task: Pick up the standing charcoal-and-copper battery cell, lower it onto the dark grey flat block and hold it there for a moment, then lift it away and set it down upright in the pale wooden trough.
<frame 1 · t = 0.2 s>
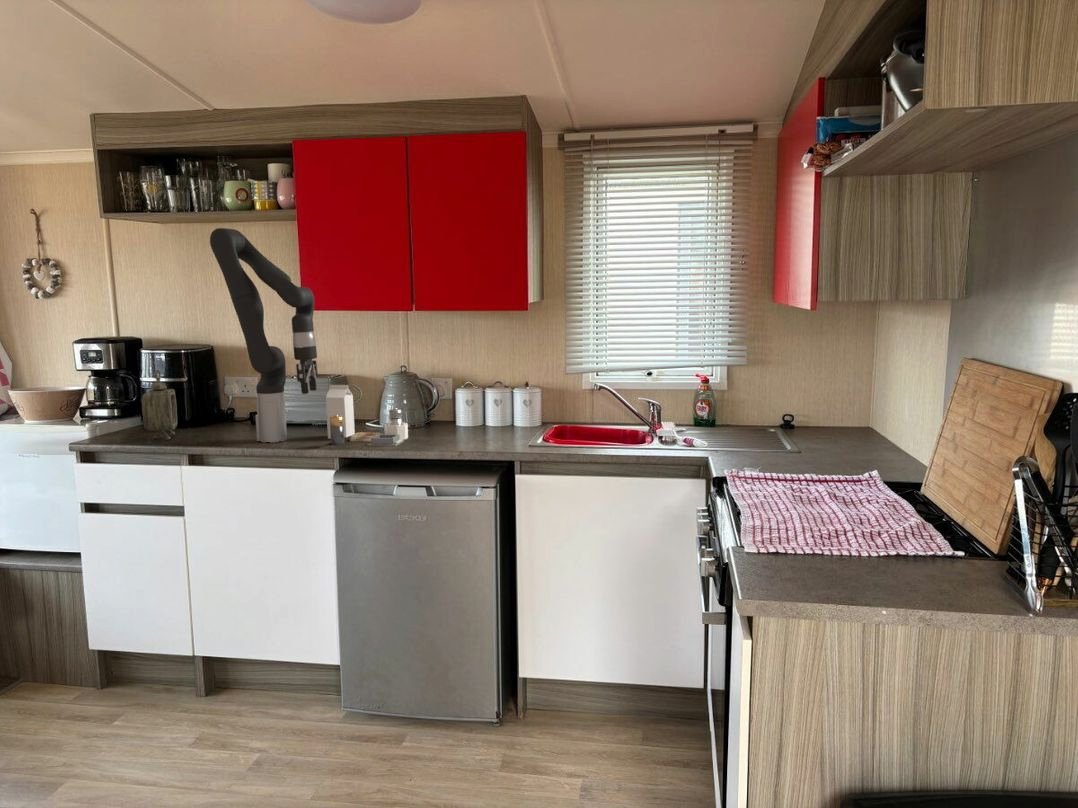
hand: (309, 392, 271), 17 cm above the countertop, tool pointing down, fingers open, 8 cm apart
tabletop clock: (162, 439, 283), on the countertop
milk carton: (341, 438, 281), on the countertop
cell a: (337, 445, 266), on the countertop
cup: (396, 440, 274), on the countertop
cell b: (396, 438, 274), point 1 cm above the countertop, touching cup
grey flat block: (385, 445, 265), on the countertop
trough: (366, 441, 273), on the countertop
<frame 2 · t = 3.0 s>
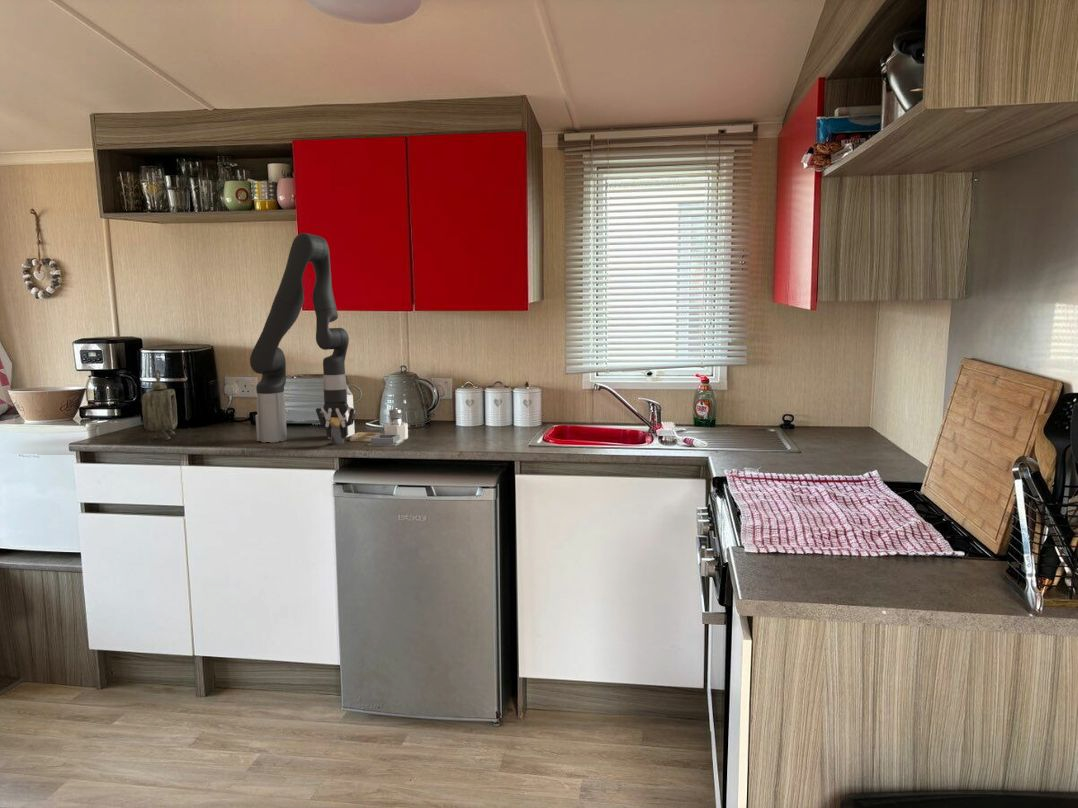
hand: (337, 437, 265), 3 cm above the countertop, tool pointing down, fingers closed on cell a, 4 cm apart
cell a: (337, 445, 266), on the countertop, touching gripper
everything else where it was.
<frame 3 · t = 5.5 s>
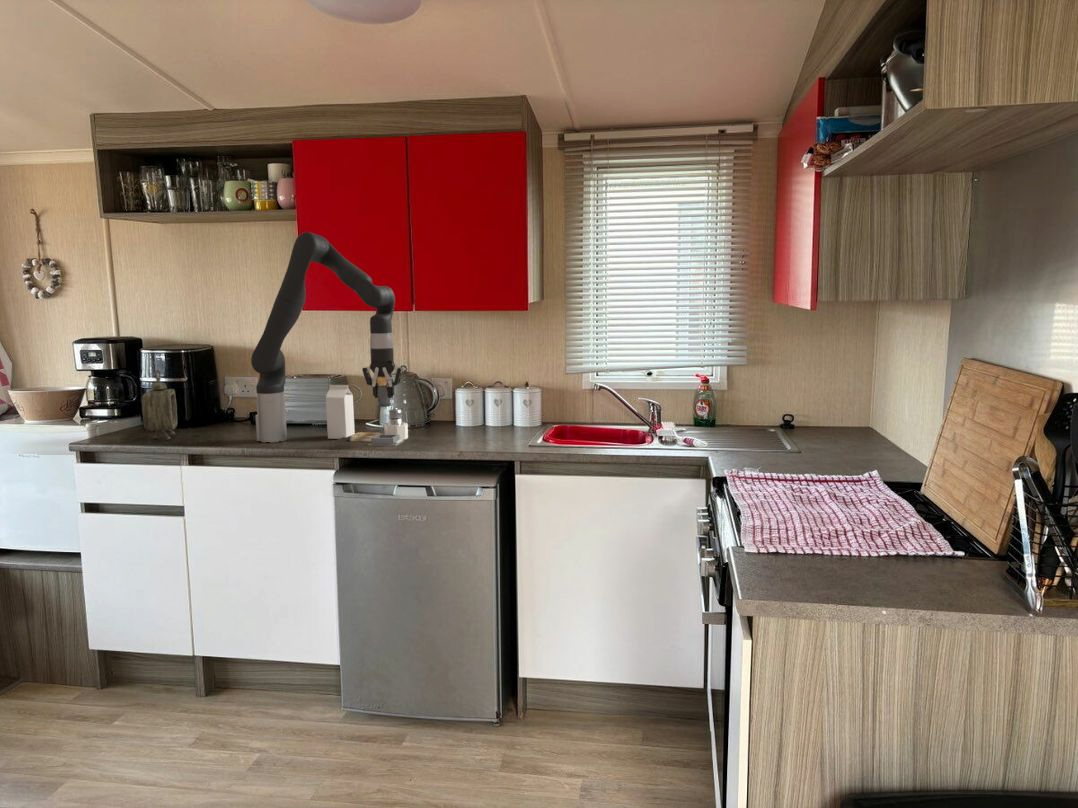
hand: (383, 397, 263), 16 cm above the countertop, tool pointing down, fingers closed on cell a, 4 cm apart
cell a: (384, 405, 263), point 14 cm above the countertop, touching gripper
everything else where it was.
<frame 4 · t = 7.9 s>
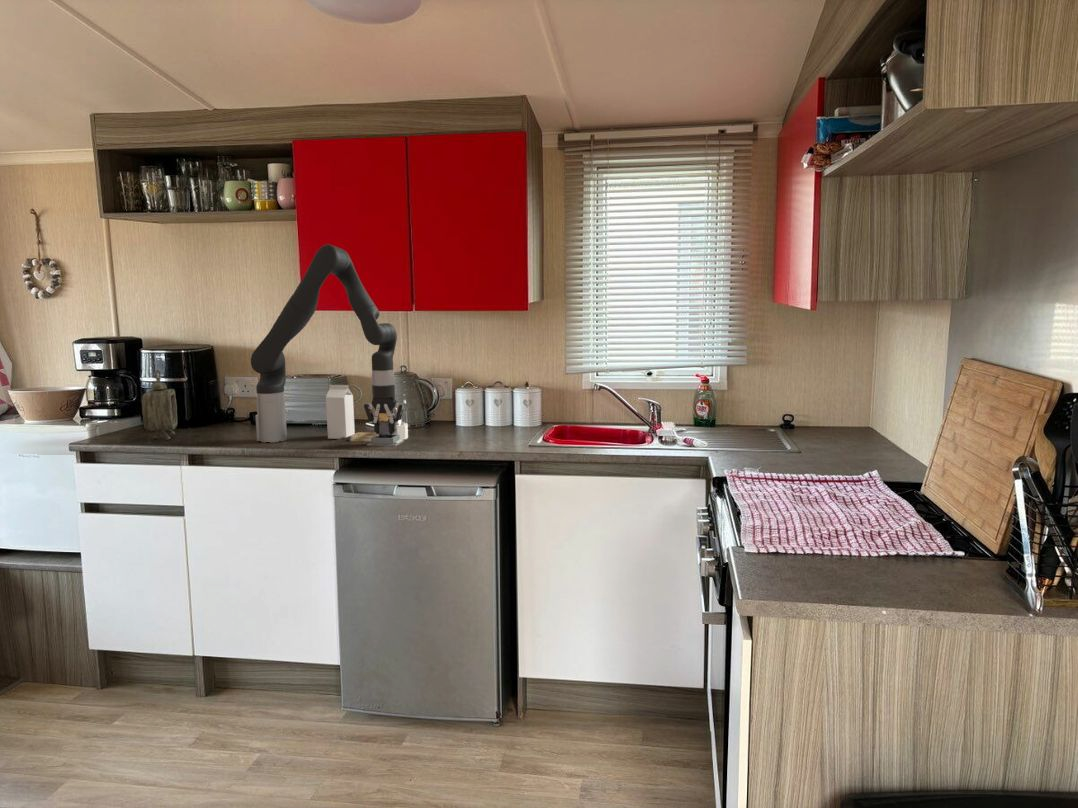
hand: (385, 433, 264), 4 cm above the countertop, tool pointing down, fingers closed on cell a, 4 cm apart
cell a: (385, 441, 265), point 1 cm above the countertop, touching gripper
everything else where it was.
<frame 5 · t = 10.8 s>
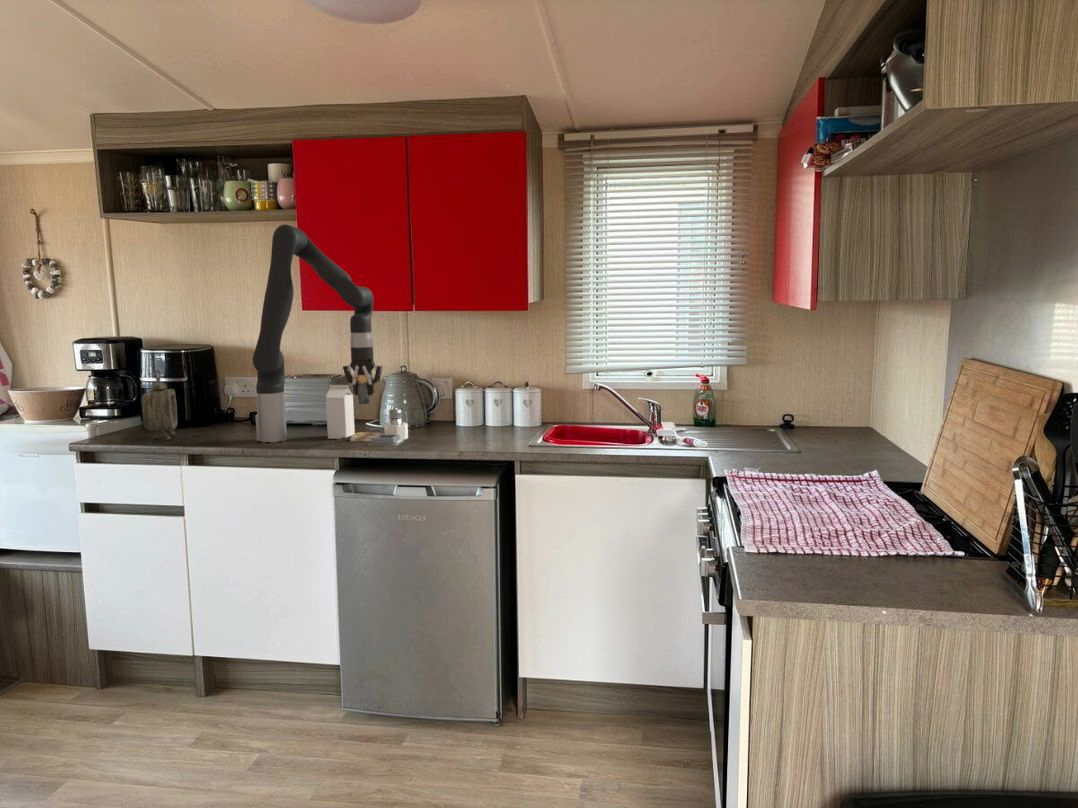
hand: (364, 395, 270), 16 cm above the countertop, tool pointing down, fingers closed on cell a, 4 cm apart
cell a: (364, 403, 271), point 14 cm above the countertop, touching gripper
everything else where it was.
when the fingers open (5 cm above the countertop, at t = 13.2 s): cell a stays where it is, resting on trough.
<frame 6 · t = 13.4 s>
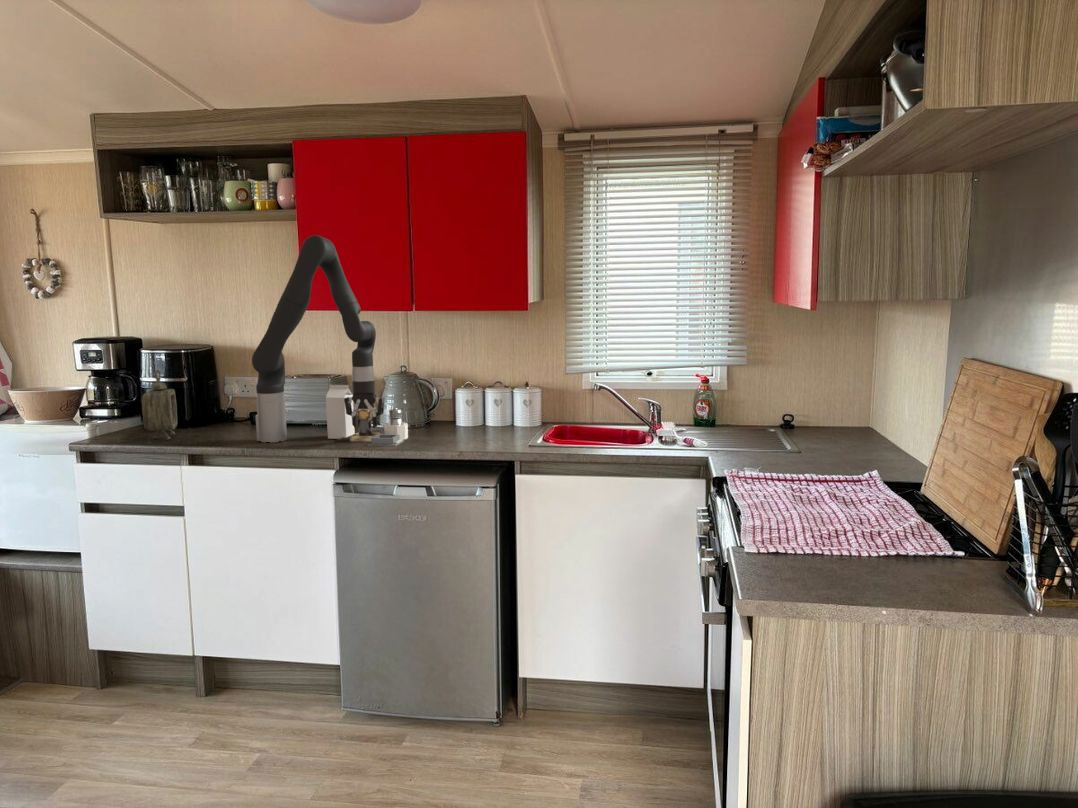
hand: (365, 427, 272), 5 cm above the countertop, tool pointing down, fingers open, 6 cm apart
cell a: (365, 438, 273), point 1 cm above the countertop, touching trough
everything else where it was.
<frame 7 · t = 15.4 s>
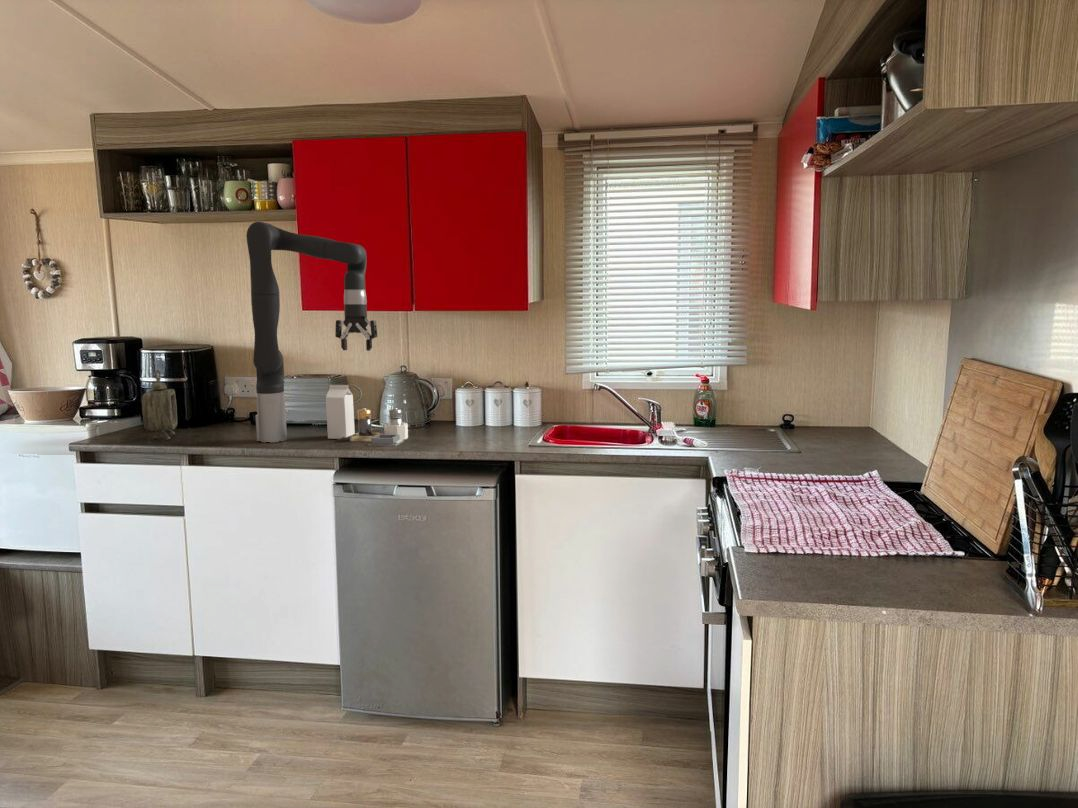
hand: (356, 350, 271), 32 cm above the countertop, tool pointing down, fingers open, 8 cm apart
nothing on the countertop moved.
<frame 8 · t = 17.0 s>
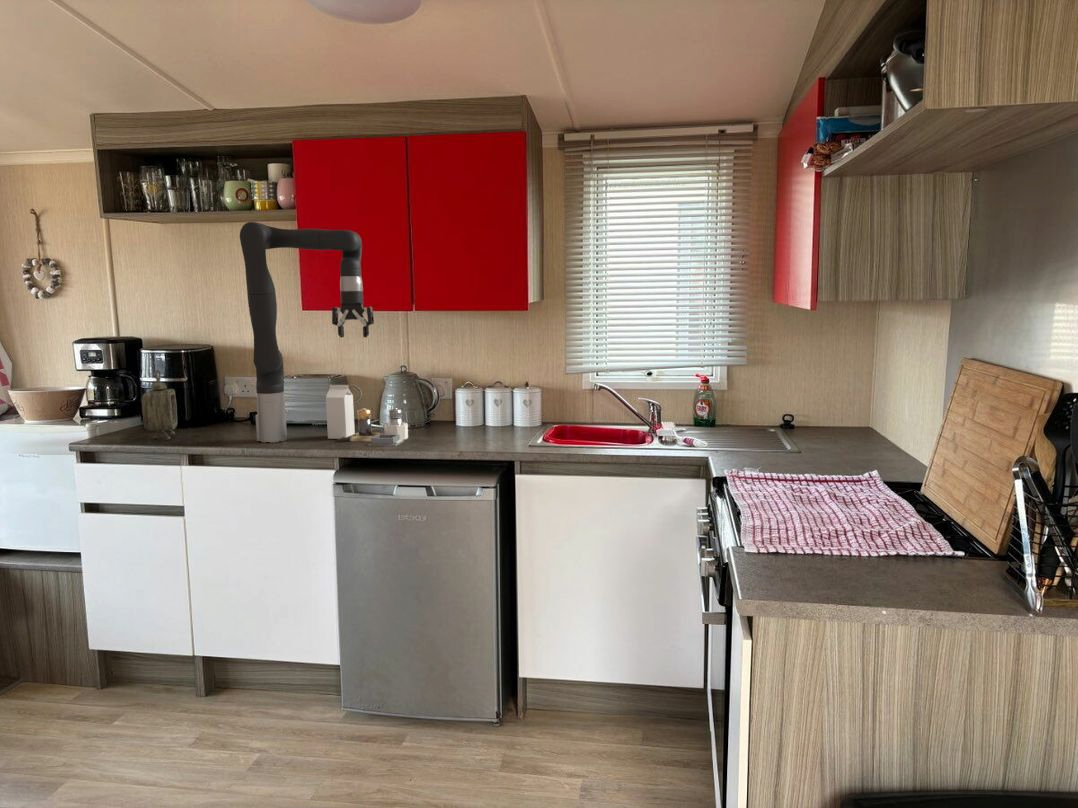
hand: (353, 337, 271), 36 cm above the countertop, tool pointing down, fingers open, 8 cm apart
nothing on the countertop moved.
at the end: cell a 0.1 cm off-centre on the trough, point 1.0 cm above the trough's base; cell a tilted 1°; the gripper is holding nothing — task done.
